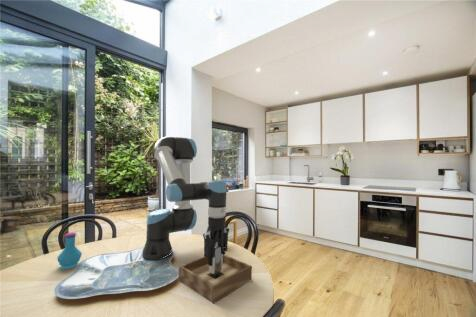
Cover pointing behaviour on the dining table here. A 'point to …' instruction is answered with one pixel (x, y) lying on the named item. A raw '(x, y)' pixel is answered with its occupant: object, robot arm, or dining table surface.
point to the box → (211, 288)
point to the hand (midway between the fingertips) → (215, 270)
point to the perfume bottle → (69, 253)
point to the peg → (217, 262)
